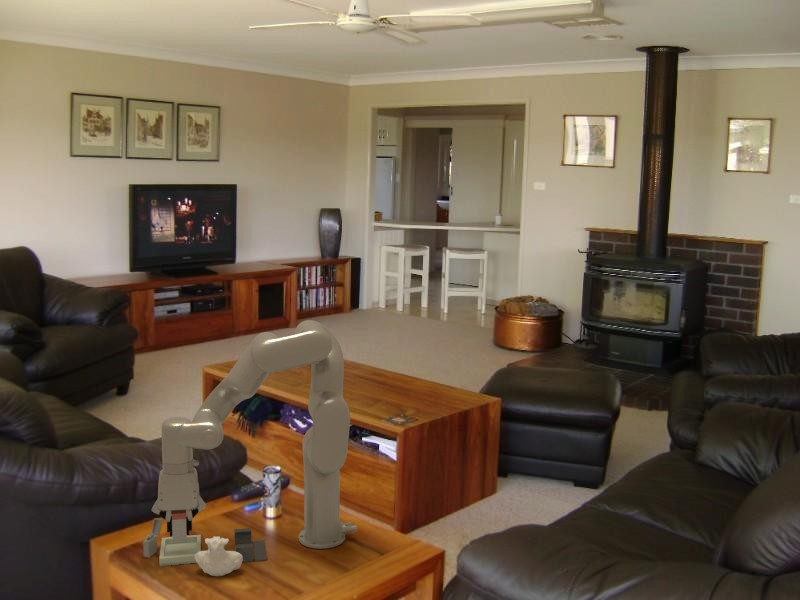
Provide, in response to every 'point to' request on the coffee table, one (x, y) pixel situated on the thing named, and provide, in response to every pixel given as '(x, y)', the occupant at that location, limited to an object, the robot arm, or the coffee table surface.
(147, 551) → the lighter
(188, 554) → the tray
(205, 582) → the coffee table surface
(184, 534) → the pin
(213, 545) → the white rounded irregular piece
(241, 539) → the bracket
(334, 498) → the robot arm
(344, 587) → the coffee table surface
